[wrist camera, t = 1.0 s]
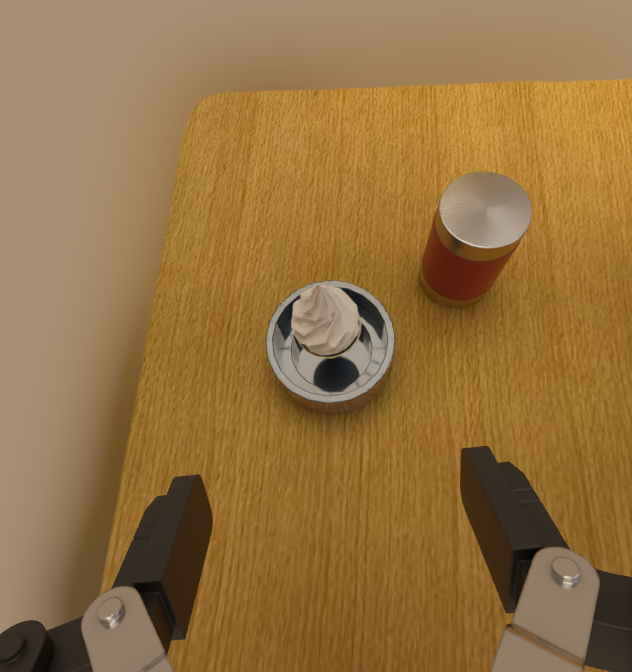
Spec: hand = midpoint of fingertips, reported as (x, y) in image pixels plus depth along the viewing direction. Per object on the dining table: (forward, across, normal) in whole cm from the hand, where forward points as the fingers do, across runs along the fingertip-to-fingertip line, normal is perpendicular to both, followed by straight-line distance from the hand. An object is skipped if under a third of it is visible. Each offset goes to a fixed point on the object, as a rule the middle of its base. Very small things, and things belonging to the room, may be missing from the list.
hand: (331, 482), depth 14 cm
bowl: (+26, 0, +10) cm, 28 cm away
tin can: (+31, -13, +5) cm, 34 cm away
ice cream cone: (+26, 0, +10) cm, 28 cm away
